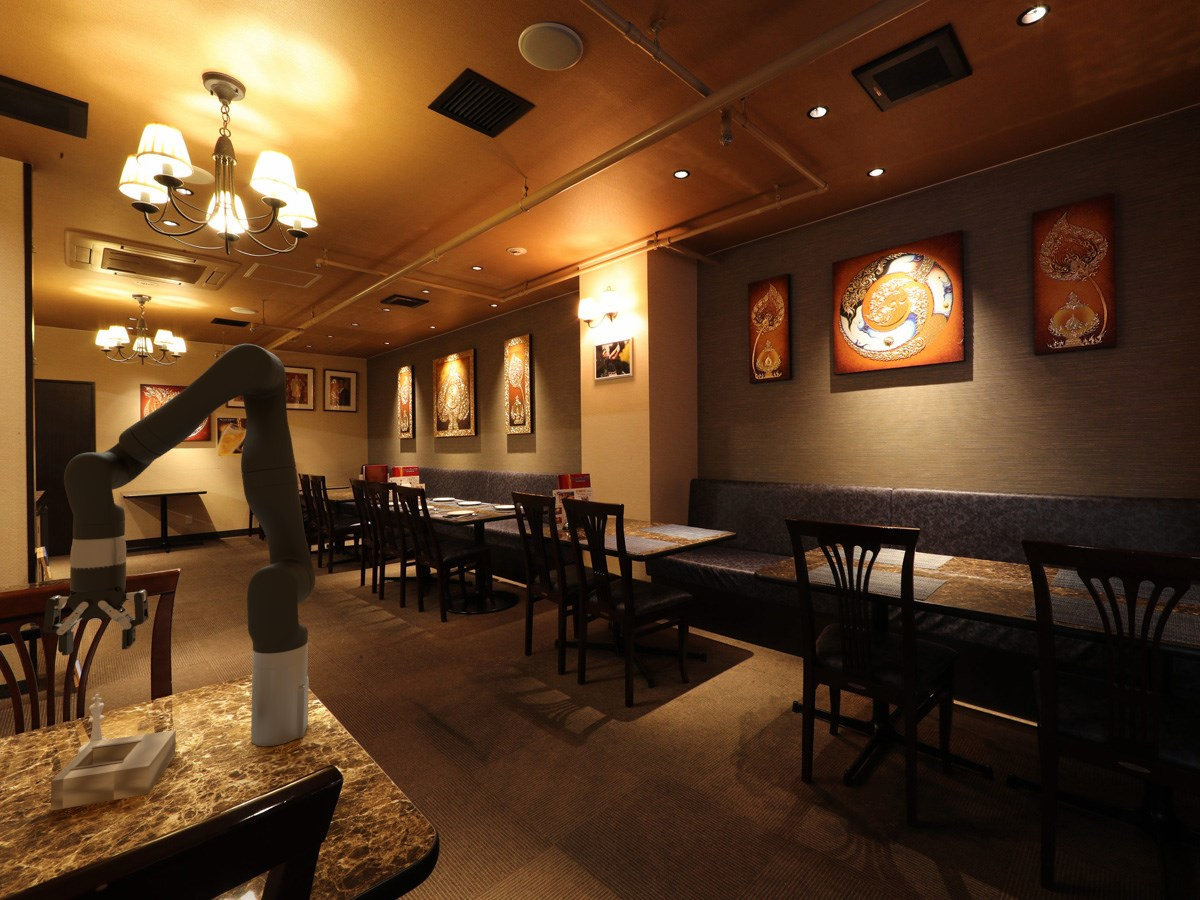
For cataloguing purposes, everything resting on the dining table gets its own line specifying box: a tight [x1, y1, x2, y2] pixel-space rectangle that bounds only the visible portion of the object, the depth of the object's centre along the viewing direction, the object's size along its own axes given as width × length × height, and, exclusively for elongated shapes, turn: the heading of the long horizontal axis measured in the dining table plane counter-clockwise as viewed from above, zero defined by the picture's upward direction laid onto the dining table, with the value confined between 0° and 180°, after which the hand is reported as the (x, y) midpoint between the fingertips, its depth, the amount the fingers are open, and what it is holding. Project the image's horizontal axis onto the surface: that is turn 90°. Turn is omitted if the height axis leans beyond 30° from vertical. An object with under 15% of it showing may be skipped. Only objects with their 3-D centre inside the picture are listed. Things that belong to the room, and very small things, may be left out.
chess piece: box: [77, 693, 108, 755], centre depth 100 cm, size 5×5×10 cm
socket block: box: [50, 729, 177, 811], centre depth 91 cm, size 12×12×5 cm
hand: (97, 651), depth 100 cm, fingers open, 8 cm apart
